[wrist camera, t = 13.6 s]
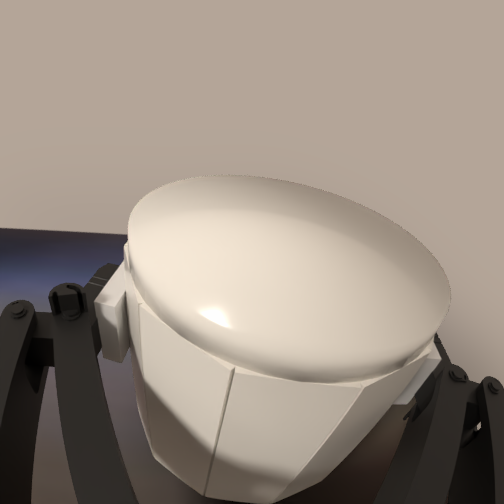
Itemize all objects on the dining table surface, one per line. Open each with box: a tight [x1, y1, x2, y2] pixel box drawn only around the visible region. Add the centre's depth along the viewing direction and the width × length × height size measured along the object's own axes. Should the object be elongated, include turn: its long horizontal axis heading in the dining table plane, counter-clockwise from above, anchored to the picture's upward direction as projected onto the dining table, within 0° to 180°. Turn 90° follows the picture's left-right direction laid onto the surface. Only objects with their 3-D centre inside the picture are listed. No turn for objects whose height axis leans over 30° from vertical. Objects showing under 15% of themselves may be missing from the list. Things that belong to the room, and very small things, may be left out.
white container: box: [124, 175, 451, 504], centre depth 13 cm, size 10×10×10 cm
